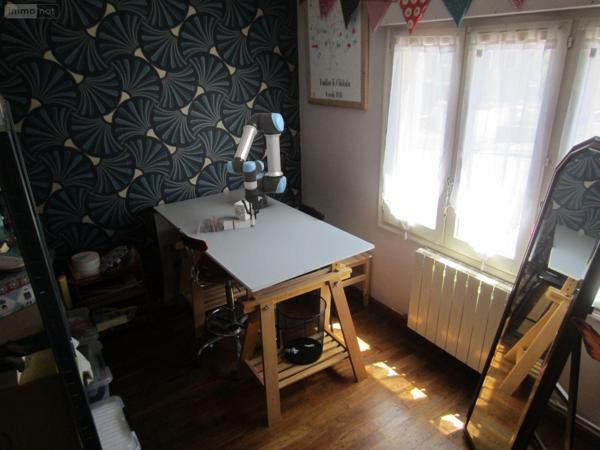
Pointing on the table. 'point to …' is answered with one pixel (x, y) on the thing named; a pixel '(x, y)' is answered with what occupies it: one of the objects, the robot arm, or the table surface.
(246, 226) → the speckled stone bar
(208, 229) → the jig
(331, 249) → the table surface
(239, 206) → the ink box
